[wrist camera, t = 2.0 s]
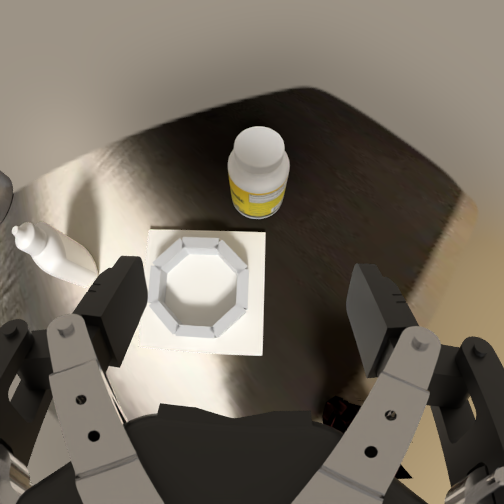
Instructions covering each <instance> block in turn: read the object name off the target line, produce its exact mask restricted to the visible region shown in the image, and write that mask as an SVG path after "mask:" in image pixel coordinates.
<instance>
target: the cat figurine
mask: <svg viewBox="0 0 504 504" xmlns="http://www.w3.org/2000/svg"><path fill="white" fill-rule="evenodd" d="M358 401H359V400H358ZM361 407H362V406H359V405H355V404H352V403H349V402H348V401H345V400H343V398H340V397H337V396H335V397H333V398H332V399H330V400H329V401H327V402H326V405H325V409H324V412H323V416H322V418H323V424H325V425H328V426H330V427H333V428H335V429H337V430H339V431H340V432H342V433H343V434H345V432H346V431H347V429H348V428H349V426H350V424H351V423H352V421H353V420H354V418H355V417H356V415H357V413H358V412H359V410H360V409H361ZM394 477H395V478H397V479H408V478H409V479H410V478H412V477H411V476H410V475H409V473H408V472H407V471H406V470H405V469H404V468H403V466H402V465H401V464H400V466H399V468H398V470H397V472H396V474H395V476H394Z"/></svg>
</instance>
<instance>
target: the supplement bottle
mask: <svg viewBox="0 0 504 504" xmlns="http://www.w3.org/2000/svg"><path fill="white" fill-rule="evenodd" d="M284 149H285V147H284V142H283V139H282V138H281V136H280V135H279V134H278V133H277V132H275V131H274V130H272V129H270V128H267V127H262V126H256V127H251V128H248V129H246V130H244V131H242V132H241V133H240V134H239V135H238V136H237V138H236V140H235V143H234V149H233V151H232V152H231V154H230V156H229V159H228V174H229V182H230V189H231V196H232V201H233V204H234V206H235V208H236V209H237V210H238V211H239V212H240V213H241V214H242V215H244V216H246V217H249V218H252V219H263V218H266V217H269V216H271V215H273V214H274V213H275V212H276V211H277V210H278V209H279V207H280V206H281V203H282V200H283V196H284V192H285V187H286V183H287V178H288V174H289V167H290V165H289V159H288V156H287V154H286V152H285V151H284Z"/></svg>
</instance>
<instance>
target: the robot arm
mask: <svg viewBox="0 0 504 504" xmlns="http://www.w3.org/2000/svg"><path fill="white" fill-rule="evenodd" d="M12 194H13V186H12V182H11V180H10V178H9V177H7V176H6V175H5V174H4V173H2V172H1V171H0V223H1V222H2V221H3V219H4V217H5V216H6V214H7V211H8V209H9V207H10V204H11V200H12ZM147 301H148V289H147V284H146V279H145V274H144V268H143V263H142V259H141V258H140V257H138V256H121V257H120V258H119V259H118V260H117V262H116V263H115V265H114V266H113V267H112V268H108V269H107V270H105V271H104V272H102V273H101V274H100V275H99V276H98V277H97V278H96V280H95V281H94V283H93V285H91V287H90V288H89V290H88V292H87V293H86V294H85V295H84V297H83V298H82V300H81V301H80V303H79V304H78V306H77V307H76V309H75V310H74V312H73V313H72V314H65V315H62V316H59V317H58V318H56V319H54V320H53V321H52V322H51V323H50V325H49V326H48V328H47V330H37V331H30V329H29V327H28V325H27V323H26V322H25V321H24V320H21V319H15V320H11V321H9V322H7V323H5V324H4V325H3V326H2V327H1V328H0V504H428V503H426V502H425V501H424V500H423V499H421V498H420V497H419V496H418V495H416V494H415V493H414V492H412V491H411V490H410V489H409V488H407V487H406V486H405V485H404V484H403V483H401V482H400V481H399V480H398V479H397V478H395V477H394V476H395V474H396V472H397V470H398V468H399V466H400V464H401V462H402V460H403V458H404V456H405V454H406V452H407V449H408V447H409V445H410V443H411V441H412V438H413V436H414V434H415V431H416V429H417V427H418V424H419V421H420V419H421V417H422V414H423V411H424V409H425V406H426V405H430V406H431V410H432V413H433V417H434V420H435V423H436V427H437V430H438V434H439V438H440V441H441V445H442V449H443V453H444V457H445V461H446V466H447V470H448V475H449V479H450V484H451V489H450V490H449V491H448V493H447V495H446V498H445V504H504V368H503V366H502V364H501V362H500V360H499V358H498V357H497V355H496V353H495V351H494V349H493V348H492V346H491V345H490V344H489V343H488V342H486V341H485V340H483V339H481V338H478V337H468V338H466V339H465V340H464V341H463V343H462V345H461V346H460V348H459V347H453V346H447V345H442V344H441V343H440V340H439V339H438V337H437V336H436V335H435V334H434V333H433V332H432V331H430V330H428V329H426V328H424V327H420V326H419V325H418V323H417V321H416V319H415V317H414V315H413V314H412V312H411V310H410V308H409V306H408V304H407V303H406V301H405V299H404V297H403V296H402V294H401V292H400V290H399V288H398V287H397V285H396V284H395V283H394V282H392V281H391V280H390V279H389V278H388V277H382V275H381V273H380V271H379V269H378V268H377V266H376V265H375V264H355V266H354V269H353V273H352V278H351V282H350V286H349V291H348V295H347V301H346V309H347V314H348V317H349V320H350V324H351V327H352V330H353V333H354V336H355V340H356V343H357V346H358V349H359V353H360V356H361V360H362V363H363V366H364V370H365V373H366V377H367V378H375V377H378V379H377V381H376V383H375V385H374V386H373V388H372V390H371V392H370V393H369V395H368V397H367V398H366V400H365V402H364V404H363V405H362V407H361V409H360V410H359V412H358V413H357V415H356V417H355V418H354V420H353V421H352V423H351V424H350V426H349V428H348V429H347V431H346V432H345V434H343V433H342V432H340V431H339V430H337V429H335V428H333V427H330V426H328V425H325V424H322V423H318V422H314V421H312V419H311V411H273V412H268V413H263V414H258V415H252V416H247V417H241V418H229V417H225V416H222V415H218V414H215V413H212V412H208V411H205V410H202V409H199V408H196V407H186V406H177V405H169V404H161V403H160V406H159V409H158V413H157V414H150V415H145V416H141V417H138V418H135V419H133V420H130V421H128V420H127V418H126V416H125V414H124V412H123V410H122V408H121V406H120V404H119V401H118V399H117V397H116V394H115V392H114V390H113V387H112V385H111V383H110V380H109V378H108V375H107V373H106V371H107V369H108V366H113V367H119V368H120V366H121V364H122V361H123V359H124V357H125V354H126V352H127V349H128V347H129V345H130V342H131V340H132V337H133V335H134V333H135V330H136V328H137V326H138V324H139V321H140V319H141V317H142V315H143V312H144V310H145V308H146V305H147ZM16 374H18V376H19V377H20V379H21V381H20V383H19V385H18V387H17V389H16V391H15V393H14V395H13V397H12V399H11V402H10V401H9V398H8V390H9V387H10V385H11V383H12V381H13V379H14V378H15V376H16ZM470 396H471V398H472V401H473V404H474V406H475V409H476V420H475V418H474V415H473V412H472V409H471V406H470V404H469V401H468V398H469V397H470ZM52 398H53V400H54V404H55V408H56V412H57V416H58V420H59V423H60V427H61V430H62V434H63V437H64V440H65V444H66V447H67V450H68V453H69V456H70V459H71V461H70V462H69V463H67V464H66V465H65V466H63V467H61V468H60V469H58V470H57V471H55V472H54V473H52V474H51V475H49V476H48V477H46V478H45V479H43V480H41V481H40V482H39V483H37V484H35V485H34V486H33V485H32V483H31V482H30V475H29V471H28V469H27V466H28V463H29V459H30V456H31V454H32V451H33V447H34V444H35V442H36V439H37V436H38V433H39V431H40V428H41V425H42V423H43V420H44V418H45V415H46V412H47V410H48V407H49V405H50V402H51V400H52Z"/></svg>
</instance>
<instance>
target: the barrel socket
mask: <svg viewBox="0 0 504 504" xmlns="http://www.w3.org/2000/svg"><path fill="white" fill-rule="evenodd" d="M264 273H265V232H237V231H202V230H155V229H149V232H148V239H147V247H146V256H145V265H144V274H145V279H146V284H147V289H148V301H147V305H146V308H145V310H144V312H143V315H142V317H141V319H140V326H139V346H138V347H143V348H151V349H161V350H171V351H183V352H196V353H211V354H229V355H256V356H262V348H263V313H264Z"/></svg>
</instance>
